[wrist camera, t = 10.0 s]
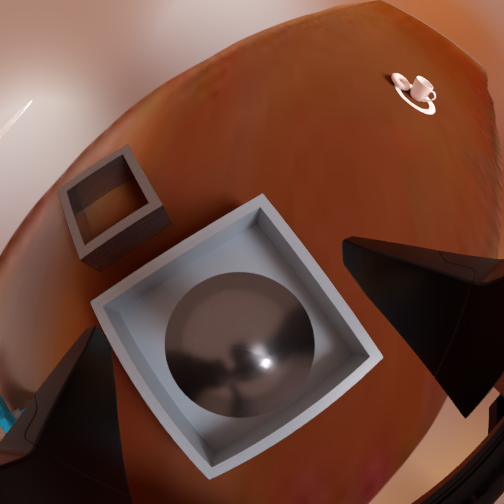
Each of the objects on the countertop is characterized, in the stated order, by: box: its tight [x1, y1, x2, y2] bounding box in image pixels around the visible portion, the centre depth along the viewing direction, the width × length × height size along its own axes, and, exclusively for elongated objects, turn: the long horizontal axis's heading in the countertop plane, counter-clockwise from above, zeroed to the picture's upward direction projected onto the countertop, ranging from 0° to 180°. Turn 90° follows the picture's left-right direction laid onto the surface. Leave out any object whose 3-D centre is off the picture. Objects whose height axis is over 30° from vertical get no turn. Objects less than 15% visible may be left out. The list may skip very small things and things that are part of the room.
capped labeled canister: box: [165, 272, 315, 418], centre depth 13 cm, size 4×4×13 cm
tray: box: [90, 194, 383, 480], centre depth 18 cm, size 15×15×4 cm
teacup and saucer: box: [391, 73, 436, 114], centre depth 31 cm, size 9×8×4 cm
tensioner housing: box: [58, 144, 172, 272], centre depth 21 cm, size 8×8×4 cm
